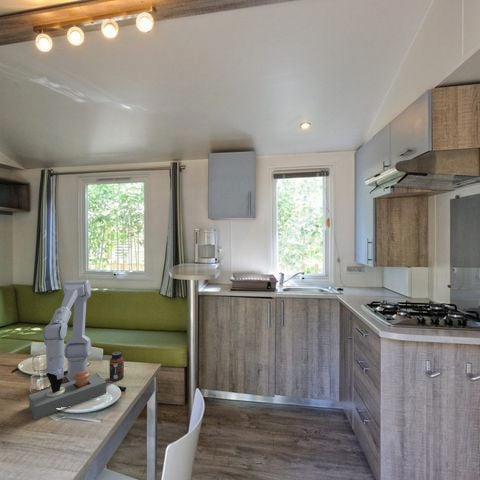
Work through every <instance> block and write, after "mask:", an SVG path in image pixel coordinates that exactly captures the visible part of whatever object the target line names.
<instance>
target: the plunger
mask: <svg viewBox="0 0 480 480" xmlns="http://www.w3.org/2000/svg"><path fill="white" fill-rule="evenodd" d="M64 392H65V388H64V387H60V390H59V391H58V392H55V393H53V392H52V389H51V390H49V391H48V392H47V393H46V394H47V397H49V398H51V397H55V396H59V395H61V394H63V393H64Z"/></svg>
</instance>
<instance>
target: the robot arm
mask: <svg viewBox="0 0 480 480" xmlns="http://www.w3.org/2000/svg"><path fill="white" fill-rule="evenodd" d="M62 290H63V300H62V302H61V305H60V307H58V308H57V309H55V311H54V313H53V316H52V318H51V319H50V322H49V324H47V325H46V326H44V328H43V331H42V336H41V337H42V339H43V342H44V346H45V347H46V348H45V350H46V351H45V352H46V353H45V357H46V359H45V361H46V368H45V369H43V370H42V373H43V374H45V375H46V377H47V379H48V381H49V384H50V388H51V389H52V392H53V393H55V392H58V391H59V390H60V387H61V385H62V381H63V379H64V378H66V379H67V380H68V382H71V381H74V380H75V379H73V375H74V374H76V373H78V372H81V371H88V357H90V355H91V353H92V341H91V338H90V337H88V336H87V335H85V334H86V333H85V329H86V313H87V301H88V299H89V298H91V294H92V284H91V282H90V280H89V279H86V280H83V279H82V280H65V282H64V284H63V286H62ZM73 305H74V306H73ZM72 306H73V320H72V333H71V334H72V335H71V337H70V338H69V339H67V340H66V342H65V338H66V336H67V332H68V326H69V325H68V323H69V320H70V318H71V315H72V311H71V309H72ZM65 359H67V360H66V361H67V374H66V372H65V368H66V365H65Z"/></svg>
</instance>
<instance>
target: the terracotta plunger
mask: <svg viewBox="0 0 480 480" xmlns="http://www.w3.org/2000/svg"><path fill="white" fill-rule="evenodd" d="M89 375H91V371H89V370H87V371H81V372H78V373H76V374H74V375H73V379H75V380H76V388H81V387H84V386H86V385H88V376H89Z"/></svg>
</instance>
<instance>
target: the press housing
mask: <svg viewBox="0 0 480 480" xmlns="http://www.w3.org/2000/svg"><path fill="white" fill-rule="evenodd" d="M61 387H64V388H65V392H64V393H63V394H61V395H59V396H55V397H51V398H49V397H47V394H46V393H47V392H48V391H49V390H51V387H50V388H47V389H44V390H41V391H40V390H39V391H38V392H34V393H31V394H29V395H28V400H29V401H28V403H29V405H28V407H29V409H30V411H31V413H32V416H33V418H34V420H35V421H36V420H39V419H43V418H44V417H47V416H49V415H52V414H55V413H57V412H59V411H58V410H57V409H56V408H61V407H68V408H70V407H69V406H71V407H73V406H76V405H79V404H81V403H84V402H86V401H87V402H88V401H89V400H92V399H95V398H97V397H100V396H102V395H104V394H105V395H106V394H107V381H106V380H104V378H103V377H101V376H100V374H98V373H97V372H96V373H93V374H90V375H89V376H88V385H86V386H84V387H81V388H76V380H74V381H71V382H70V381H68V382H65V383H61Z"/></svg>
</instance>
